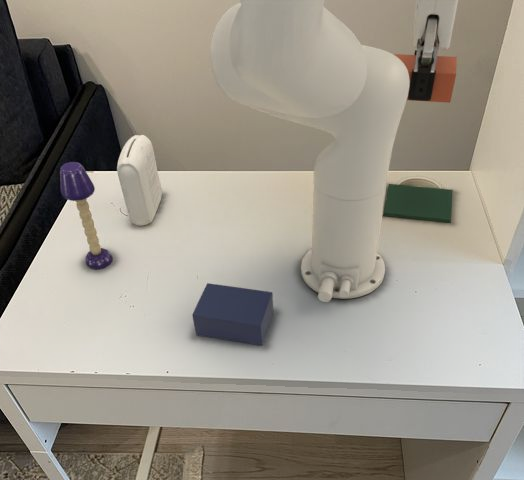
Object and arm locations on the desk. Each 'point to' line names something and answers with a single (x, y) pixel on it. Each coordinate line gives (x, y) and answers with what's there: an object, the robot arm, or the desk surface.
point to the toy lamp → (84, 210)
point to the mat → (418, 203)
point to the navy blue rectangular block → (233, 313)
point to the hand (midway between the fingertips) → (420, 88)
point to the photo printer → (139, 179)
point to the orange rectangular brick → (436, 76)
